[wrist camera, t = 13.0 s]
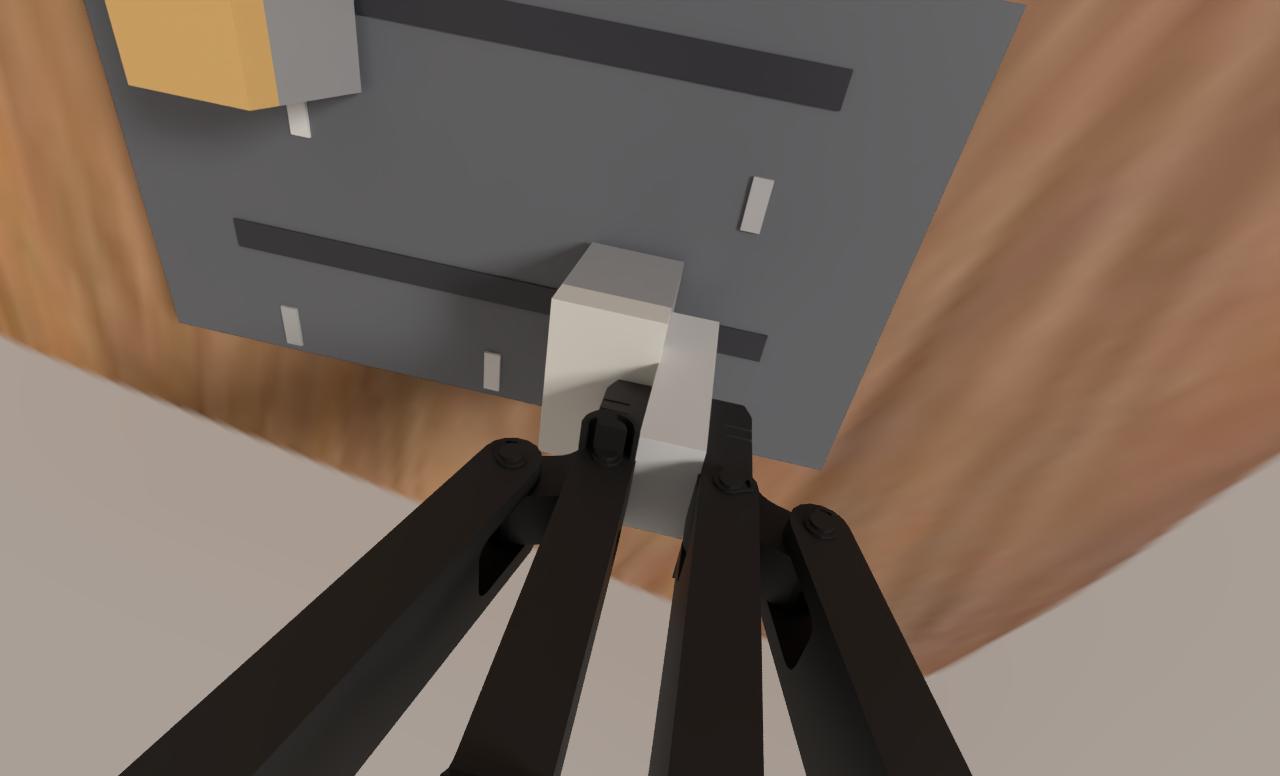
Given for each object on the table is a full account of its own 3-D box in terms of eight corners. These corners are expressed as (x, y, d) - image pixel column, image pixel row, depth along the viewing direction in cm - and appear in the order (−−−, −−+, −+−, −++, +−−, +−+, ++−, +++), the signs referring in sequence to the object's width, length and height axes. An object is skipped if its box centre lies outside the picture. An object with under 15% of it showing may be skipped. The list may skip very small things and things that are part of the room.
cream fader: (592, 242, 19) (551, 298, 15) (684, 261, 18) (667, 324, 15) (576, 373, 21) (537, 450, 17) (656, 392, 21) (635, 473, 17)
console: (115, -161, 17) (23, -188, 15) (990, 7, 16) (1028, 4, 14) (226, 298, 25) (176, 323, 23) (814, 432, 24) (821, 472, 22)
